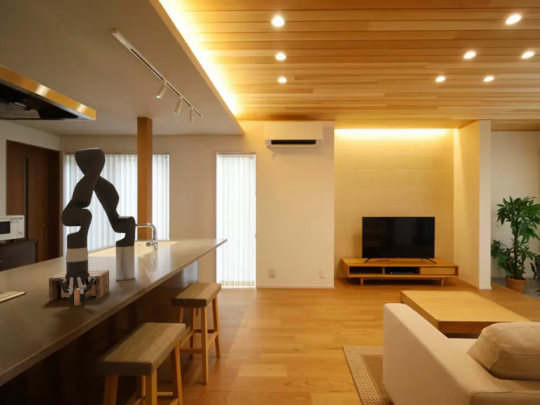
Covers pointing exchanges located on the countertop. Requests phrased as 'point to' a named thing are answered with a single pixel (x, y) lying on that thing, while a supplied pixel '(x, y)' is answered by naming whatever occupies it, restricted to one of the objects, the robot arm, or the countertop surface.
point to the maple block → (64, 293)
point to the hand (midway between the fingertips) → (77, 302)
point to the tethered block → (90, 293)
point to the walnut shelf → (101, 285)
